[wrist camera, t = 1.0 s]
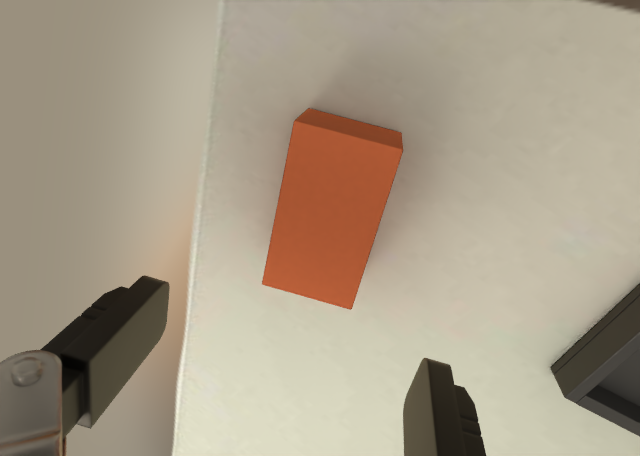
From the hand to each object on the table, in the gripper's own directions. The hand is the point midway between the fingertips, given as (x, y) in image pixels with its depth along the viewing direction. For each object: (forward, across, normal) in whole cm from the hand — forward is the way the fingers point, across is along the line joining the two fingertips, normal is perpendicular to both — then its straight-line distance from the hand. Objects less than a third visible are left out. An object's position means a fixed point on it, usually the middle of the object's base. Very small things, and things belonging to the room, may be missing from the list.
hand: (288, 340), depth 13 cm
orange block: (+12, 0, 0) cm, 12 cm away
